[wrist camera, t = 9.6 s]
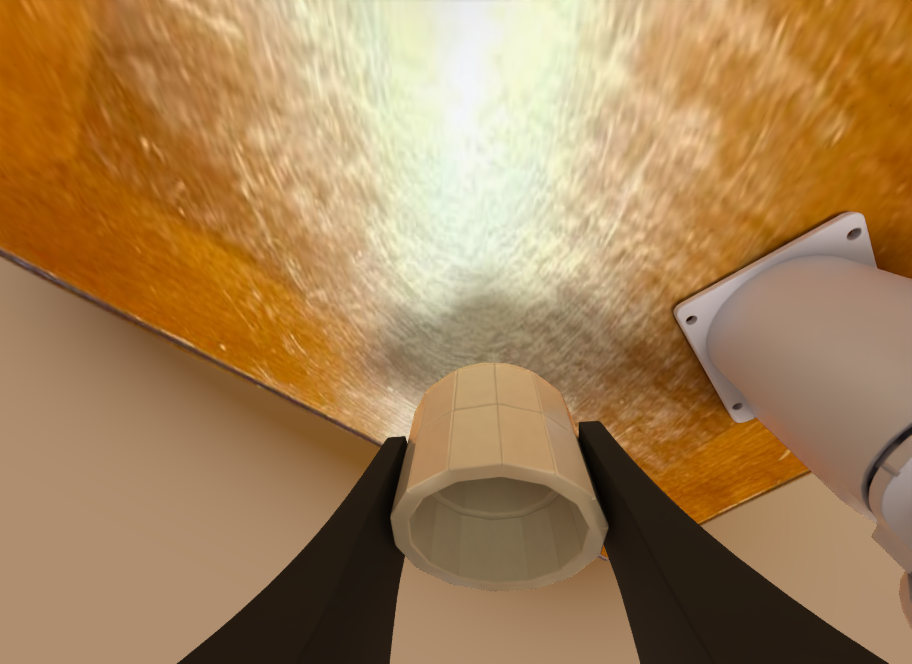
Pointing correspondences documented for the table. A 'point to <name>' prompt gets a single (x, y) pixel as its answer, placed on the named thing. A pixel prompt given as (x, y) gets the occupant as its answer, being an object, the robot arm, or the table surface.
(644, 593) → the robot arm
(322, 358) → the table surface
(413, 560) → the beige hollow cylinder
